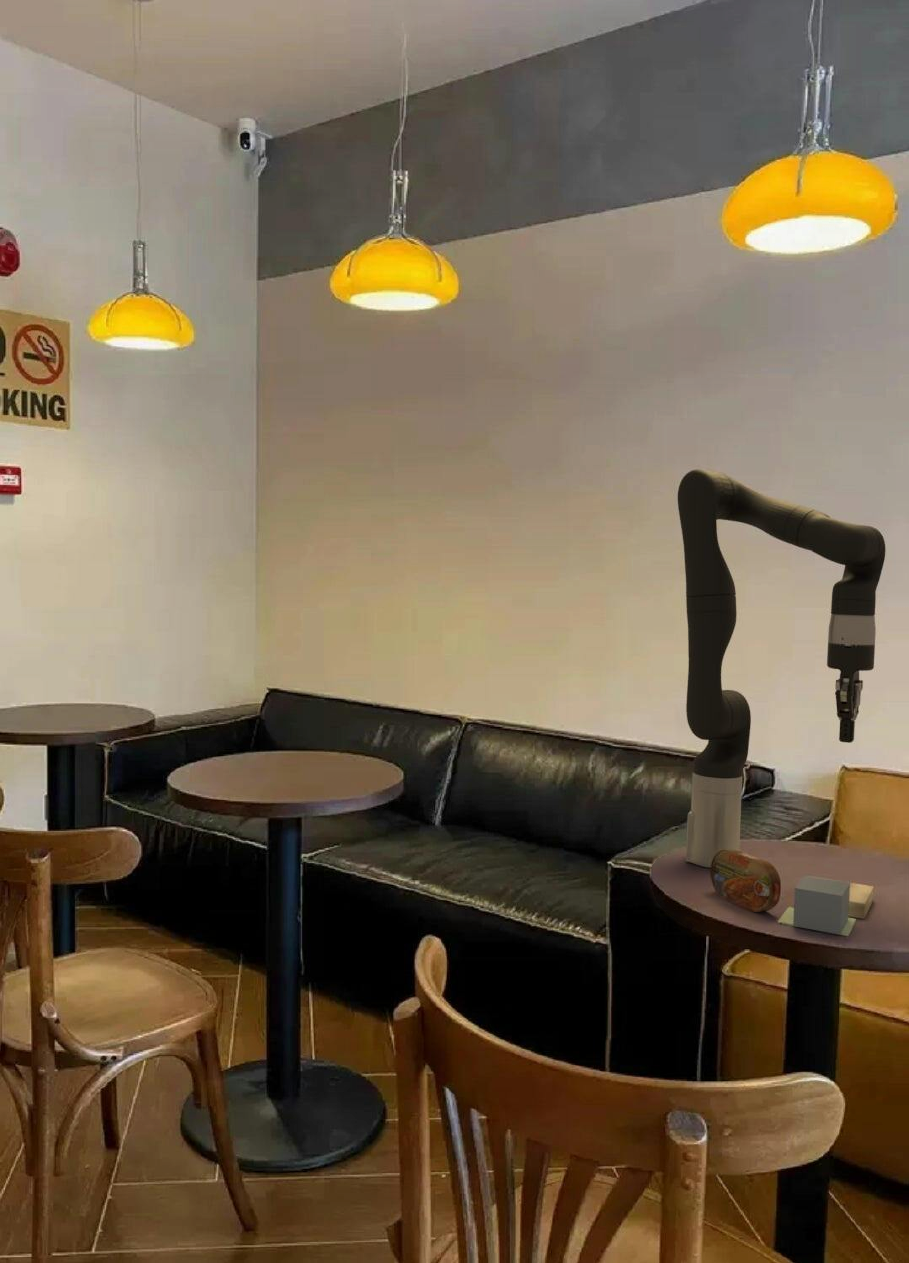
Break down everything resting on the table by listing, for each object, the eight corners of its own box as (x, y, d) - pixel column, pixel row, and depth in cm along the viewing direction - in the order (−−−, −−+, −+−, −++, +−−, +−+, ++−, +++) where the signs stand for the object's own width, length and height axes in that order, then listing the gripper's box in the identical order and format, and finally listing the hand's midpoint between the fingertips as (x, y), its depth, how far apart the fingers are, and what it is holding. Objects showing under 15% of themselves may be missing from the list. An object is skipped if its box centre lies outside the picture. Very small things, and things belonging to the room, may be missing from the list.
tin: (707, 892, 175) (709, 844, 175) (722, 890, 176) (724, 842, 176) (767, 919, 162) (770, 867, 161) (783, 917, 163) (785, 866, 162)
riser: (793, 906, 168) (794, 891, 168) (806, 889, 178) (807, 875, 178) (864, 919, 163) (865, 903, 163) (873, 901, 172) (873, 886, 172)
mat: (777, 923, 160) (777, 921, 160) (788, 908, 167) (788, 907, 167) (848, 936, 154) (848, 934, 154) (856, 920, 162) (856, 919, 162)
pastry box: (793, 925, 158) (794, 888, 157) (802, 911, 165) (804, 875, 164) (840, 934, 154) (842, 896, 154) (848, 919, 161) (850, 883, 161)
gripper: (834, 638, 180) (829, 735, 181) (821, 641, 168) (816, 744, 169) (879, 641, 176) (874, 739, 177) (869, 644, 165) (864, 749, 166)
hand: (846, 741), depth 173 cm, fingers closed
